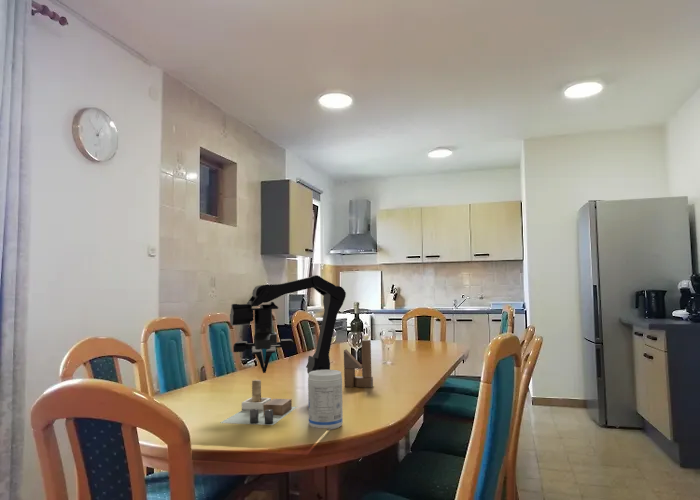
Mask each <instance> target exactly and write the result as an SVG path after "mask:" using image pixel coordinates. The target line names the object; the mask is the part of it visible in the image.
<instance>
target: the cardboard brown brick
mask: <svg viewBox="0 0 700 500" xmlns="http://www.w3.org/2000/svg"><path fill="white" fill-rule="evenodd" d="M292 401H293V400H292V399H291V398H271V400H270V401H269V402H267V403H265V404H264V411H265V410H268V409H272V410H273V415H282V416H283V415H284V414H285V413H287V412H288V411H289V410H291V409H292V407H293V406H292V405H293V404H292ZM264 415H265V412H264Z"/></svg>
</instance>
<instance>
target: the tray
mask: <svg viewBox="0 0 700 500" xmlns="http://www.w3.org/2000/svg"><path fill="white" fill-rule="evenodd" d="M270 400H272V398H271V397H261V402H252V396H251V397H250V398H249V397H248V398H247V399H245V400H244V401H241V411H250V410H251V409H259V411H264V404H265V403H267V402H269V401H270Z"/></svg>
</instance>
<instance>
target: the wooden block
mask: <svg viewBox="0 0 700 500" xmlns="http://www.w3.org/2000/svg"><path fill="white" fill-rule="evenodd" d="M371 342H372V341H371V339H362V340H361V363H360V361H358V359H356V357H354V356H353V355H352V353H350V351H349V350H347V349H343V368H344V370H343V373H344V374H343V375H344V379H343V381H344V383H343V385H344V387H345V388H353V387H356V388H370V389H371V388H372V387H373V386H374V377H373V376H372V346H371V345H372V343H371ZM356 369H357V370H358V369H359V370H361V374H362V376H359V375H358V376H357V375H356Z"/></svg>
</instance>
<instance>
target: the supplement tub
mask: <svg viewBox="0 0 700 500" xmlns="http://www.w3.org/2000/svg"><path fill="white" fill-rule="evenodd" d="M342 375H343V374H342V371H340V370H337V369H330V370H316V371H311V372H309V374H308V378H307V380H308V381H307V391H308V392H307V393H308V395H307V396H308V397H307V398H308V400H307V401H308V403H307V404H308V426H310V427H313V428H319V429H324V428H325V429H326V428H327V429H326V431H330V430H336V429H338V428H340V427H342V425H343V424H344V422H343V419H344V418H343V416H344V414H343V376H342Z"/></svg>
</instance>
